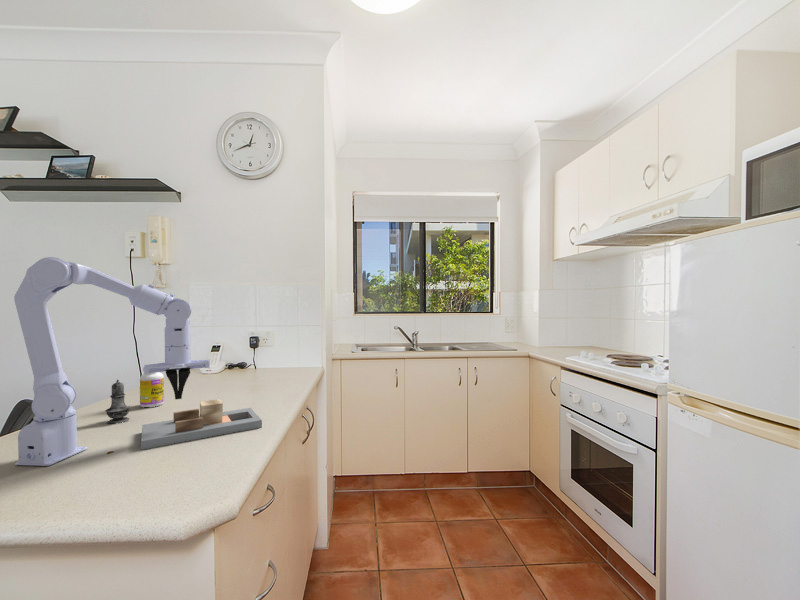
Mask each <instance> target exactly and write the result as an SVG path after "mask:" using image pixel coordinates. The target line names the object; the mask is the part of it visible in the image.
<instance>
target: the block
mask: <svg viewBox="0 0 800 600" xmlns="http://www.w3.org/2000/svg"><path fill="white" fill-rule="evenodd" d="M223 408H224V406H223V401H222V399H220V398H219V399H210V400H202V401H199V416H200V417H203V425H206V424H214V423H221V422H222V414H223V412H224V411H223V410H224V409H223Z"/></svg>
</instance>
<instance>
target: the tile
mask: <svg viewBox="0 0 800 600" xmlns="http://www.w3.org/2000/svg"><path fill="white" fill-rule="evenodd" d="M230 421H231V420H230V418H229V417H228V416H227V415H225V416H222V422H221V423H225V422H230ZM214 424H219V423H214ZM208 425H213V424H208Z"/></svg>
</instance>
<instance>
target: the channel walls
mask: <svg viewBox="0 0 800 600" xmlns="http://www.w3.org/2000/svg"><path fill="white" fill-rule="evenodd" d="M199 416H200V408H194V409H189V410H188V409H187V410H181V411H174V412H173V420H174V423H175V431H176V433H179V432H184V431H190V430H196V429H202V428H203V417H200V418H199Z"/></svg>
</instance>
